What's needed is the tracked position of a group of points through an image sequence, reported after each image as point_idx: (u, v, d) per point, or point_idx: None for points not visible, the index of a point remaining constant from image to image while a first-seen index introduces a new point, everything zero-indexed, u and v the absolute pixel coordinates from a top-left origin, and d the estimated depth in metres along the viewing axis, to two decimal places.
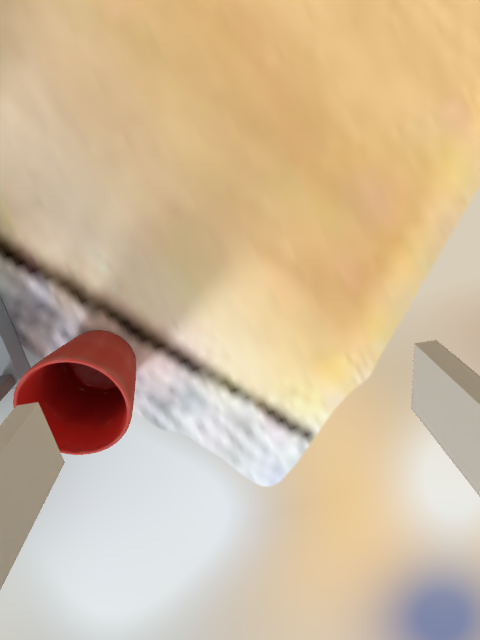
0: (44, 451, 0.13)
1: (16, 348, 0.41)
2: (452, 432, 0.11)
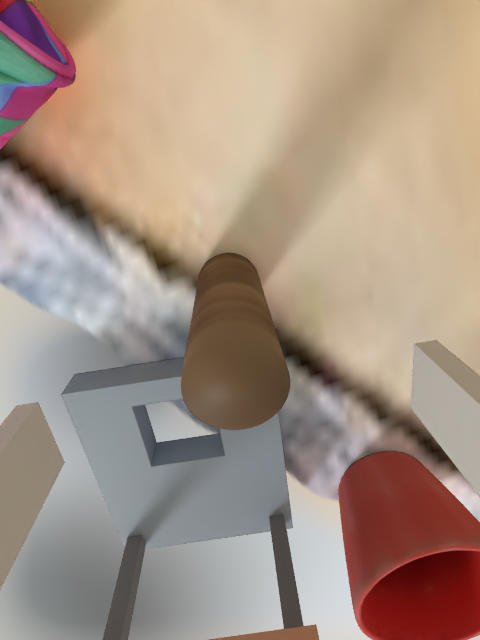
0: (44, 451, 0.13)
1: None
2: (452, 432, 0.11)
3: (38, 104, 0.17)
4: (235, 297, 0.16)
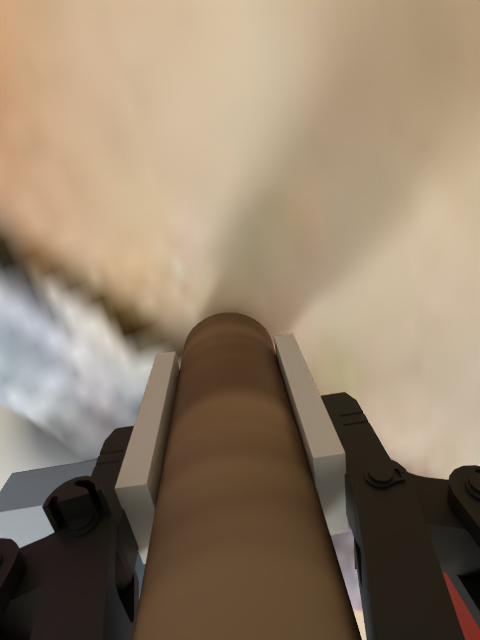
0: None
1: None
2: None
3: None
4: (244, 446, 0.08)
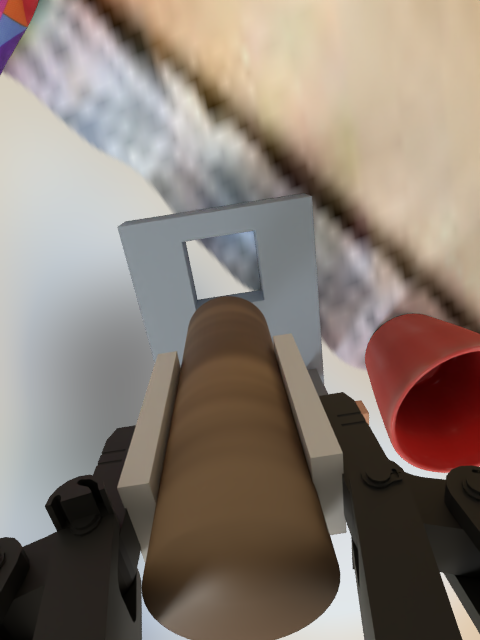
0: None
1: None
2: None
3: None
4: (239, 392, 0.10)
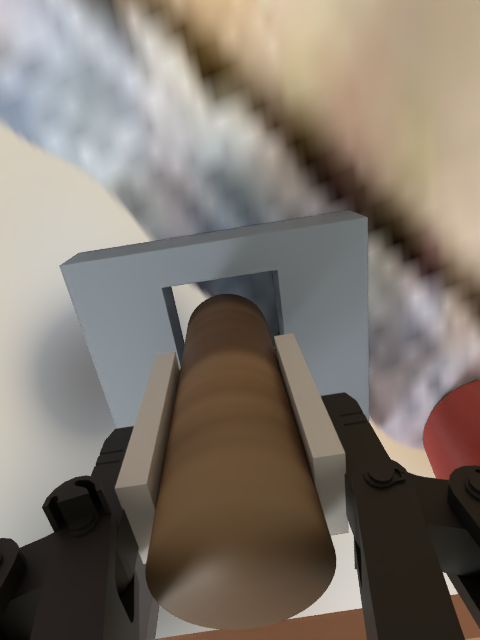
0: None
1: None
2: None
3: None
4: (238, 387, 0.11)
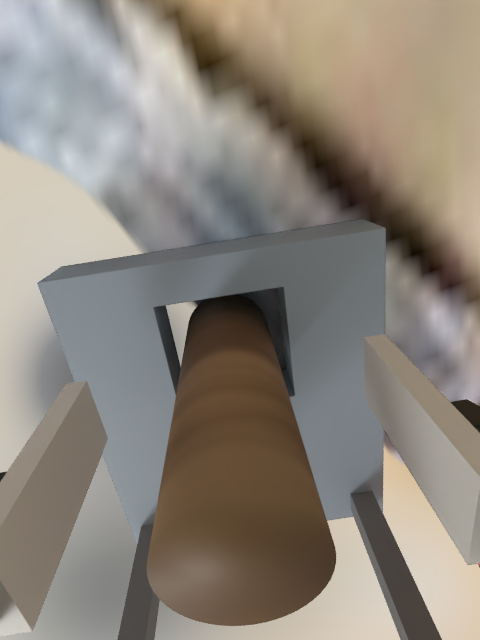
0: (92, 426, 0.13)
1: None
2: (392, 418, 0.12)
3: None
4: (238, 384, 0.11)
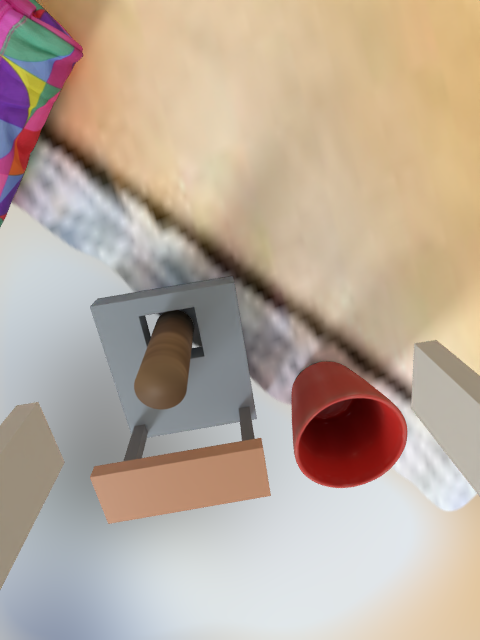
0: (44, 451, 0.13)
1: None
2: (452, 432, 0.11)
3: (65, 75, 0.28)
4: (166, 342, 0.32)
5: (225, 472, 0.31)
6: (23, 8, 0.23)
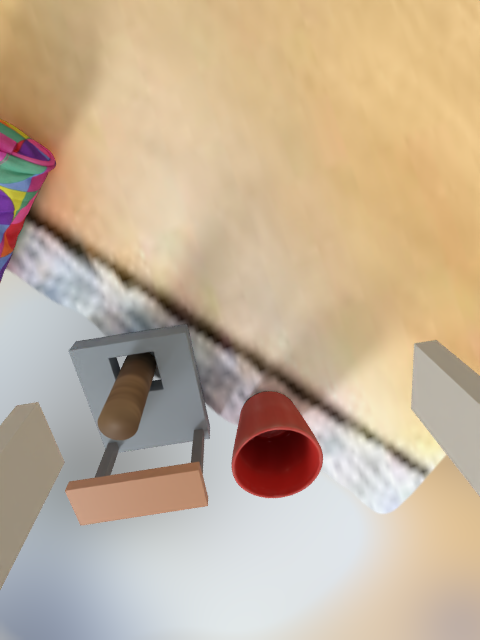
0: (44, 451, 0.13)
1: (204, 407, 0.50)
2: (452, 432, 0.11)
3: (42, 181, 0.36)
4: (126, 385, 0.40)
5: (170, 488, 0.39)
6: (6, 148, 0.31)
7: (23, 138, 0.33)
